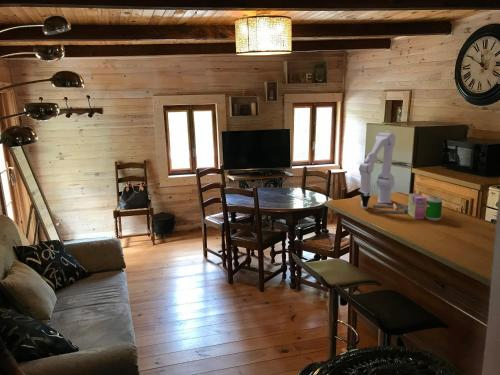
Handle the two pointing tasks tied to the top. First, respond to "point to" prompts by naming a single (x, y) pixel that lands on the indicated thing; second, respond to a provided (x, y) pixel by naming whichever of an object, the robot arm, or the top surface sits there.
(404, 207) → the lane
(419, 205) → the box
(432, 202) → the soda can
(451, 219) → the top surface
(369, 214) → the top surface
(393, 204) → the bar
